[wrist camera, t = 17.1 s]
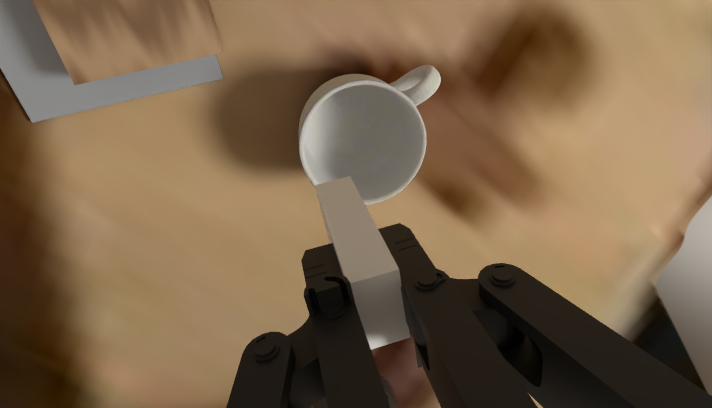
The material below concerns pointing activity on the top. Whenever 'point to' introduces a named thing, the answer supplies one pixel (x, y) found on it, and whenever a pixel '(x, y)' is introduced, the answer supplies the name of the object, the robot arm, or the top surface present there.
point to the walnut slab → (127, 34)
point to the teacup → (367, 131)
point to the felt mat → (53, 83)
